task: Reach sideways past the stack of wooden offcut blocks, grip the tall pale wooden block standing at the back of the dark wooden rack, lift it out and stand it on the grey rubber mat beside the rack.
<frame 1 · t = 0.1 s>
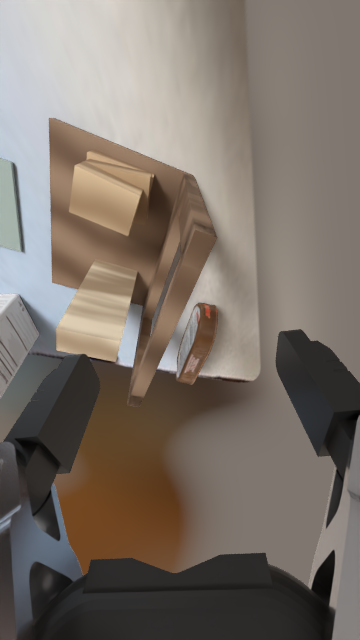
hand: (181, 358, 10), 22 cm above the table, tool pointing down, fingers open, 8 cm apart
tin: (191, 326, 40), on the table
offcut low: (121, 183, 24), point 1 cm above the table, touching offcut mid, rack
offcut top: (110, 196, 20), point 6 cm above the table, touching offcut mid
supplement box: (3, 314, 37), on the table
offcut mid: (120, 190, 22), point 4 cm above the table, touching offcut low, offcut top
rack: (115, 233, 28), on the table
pale wooden block: (115, 274, 31), point 1 cm above the table, touching rack
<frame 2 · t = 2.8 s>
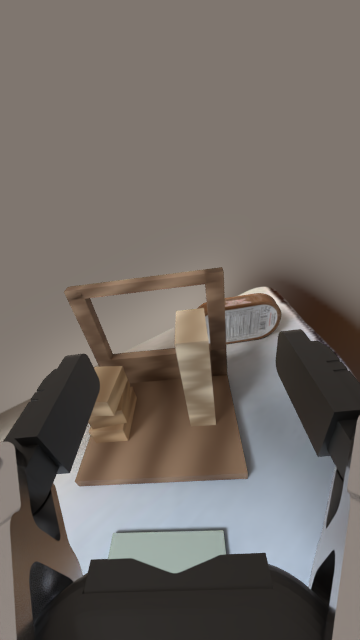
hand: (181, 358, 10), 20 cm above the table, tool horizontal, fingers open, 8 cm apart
mat: (163, 625, 16), on the table
tin: (235, 340, 41), on the table
offcut low: (117, 418, 30), point 1 cm above the table, touching offcut mid, rack
offcut top: (107, 396, 27), point 6 cm above the table, touching offcut mid
offcut mid: (113, 405, 28), point 4 cm above the table, touching offcut low, offcut top
rack: (164, 420, 30), on the table
pale wooden block: (201, 405, 29), point 1 cm above the table, touching rack
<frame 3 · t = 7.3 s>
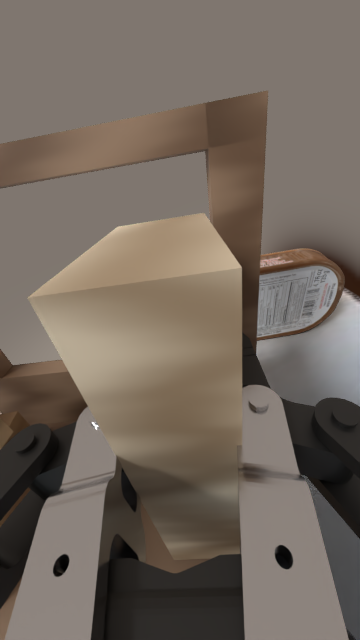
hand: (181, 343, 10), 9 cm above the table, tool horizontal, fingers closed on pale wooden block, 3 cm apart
tin: (258, 336, 24), on the table
rack: (114, 524, 12), on the table
pale wooden block: (202, 486, 12), point 1 cm above the table, touching gripper, rack
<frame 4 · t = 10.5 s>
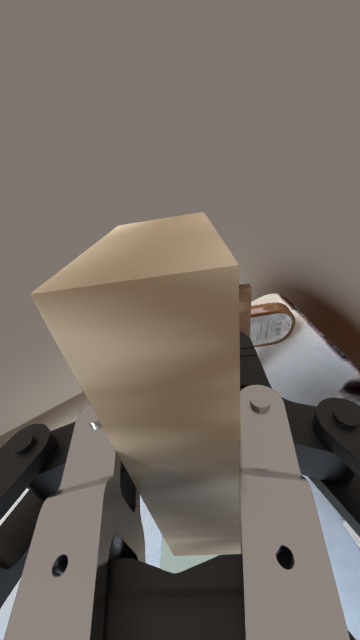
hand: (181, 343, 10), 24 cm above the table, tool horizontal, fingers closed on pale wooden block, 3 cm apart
mat: (215, 583, 20), on the table
tin: (252, 345, 45), on the table
rack: (195, 418, 33), on the table
pale wooden block: (202, 483, 12), point 16 cm above the table, touching gripper
when the fingers open (9 cm above the table, at t = 13.8 s): pale wooden block stays where it is, resting on mat.
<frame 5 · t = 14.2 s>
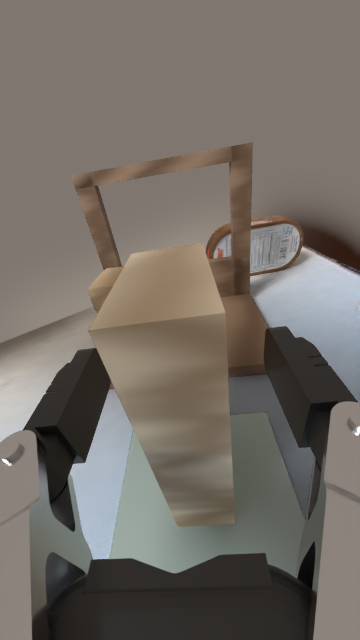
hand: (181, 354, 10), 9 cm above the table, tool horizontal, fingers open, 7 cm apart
mat: (205, 500, 13), on the table
tin: (253, 274, 38), on the table
offcut top: (120, 297, 24), point 6 cm above the table, touching offcut mid
rack: (183, 335, 27), on the table
pale wooden block: (201, 468, 14), resting on mat
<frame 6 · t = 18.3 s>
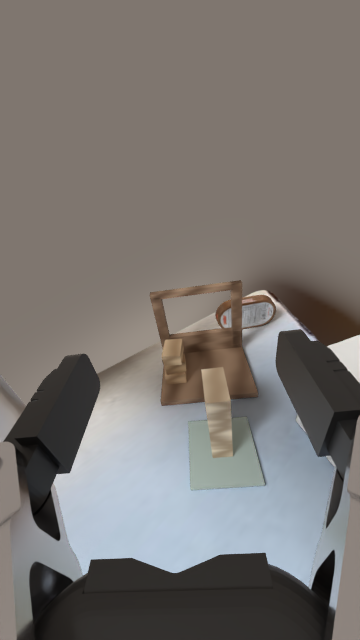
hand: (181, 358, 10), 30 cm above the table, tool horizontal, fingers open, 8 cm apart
mat: (221, 450, 35), on the table
tin: (245, 327, 60), on the table
offcut low: (176, 372, 48), point 1 cm above the table, touching offcut mid, rack
offcut top: (174, 356, 46), point 6 cm above the table, touching offcut mid
supplement box: (339, 435, 35), on the table
offcut mid: (175, 363, 47), point 4 cm above the table, touching offcut low, offcut top
rack: (205, 373, 49), on the table
pale wooden block: (219, 439, 36), resting on mat
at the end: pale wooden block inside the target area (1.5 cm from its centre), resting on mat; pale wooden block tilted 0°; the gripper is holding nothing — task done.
